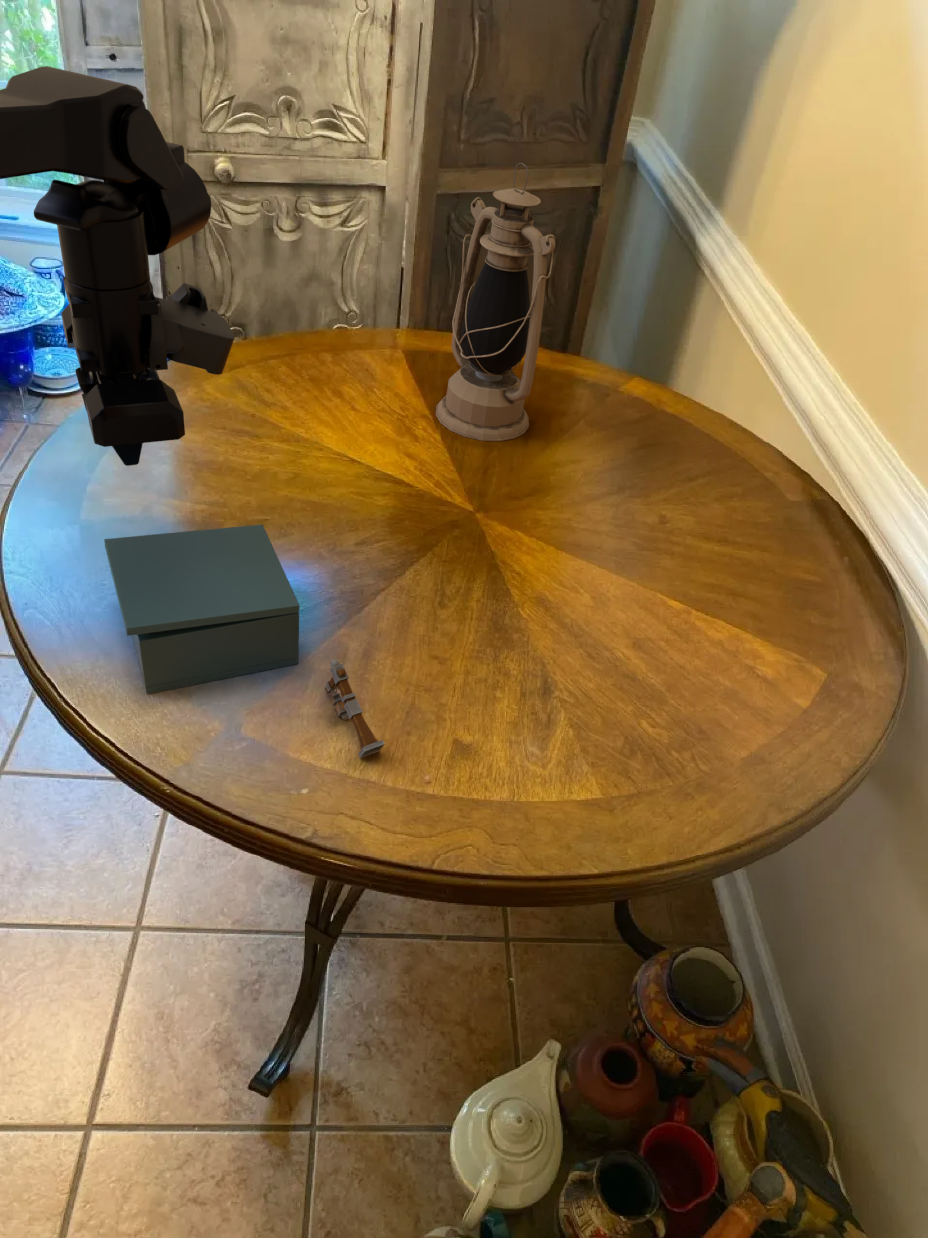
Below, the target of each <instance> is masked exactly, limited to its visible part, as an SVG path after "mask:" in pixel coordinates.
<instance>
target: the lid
mask: <svg viewBox="0 0 928 1238" xmlns="http://www.w3.org/2000/svg"><path fill="white" fill-rule="evenodd" d="M269 537H270V536H269V535H268V533H267V531H266V528H265V527H264V525H263V524H254V525H243V526H232V527H231V526H230V527H220V528H210V529H199V530H198V529H197V530H189V531H177V532H166V533H156V534H144V535H133V536H124V537H123V536H121V537H113V538H111V537H110V538H104V539H103V542H104V543H103V544H104V549H105V554H106V557H107V561H108V565H109V568H110V573H111V577H112V582H113V586H114V589H115V593H116V597H117V602H118V605H119V609H120V612H121V617H122V621H123V626H124V629H125V634H126V636H127V637H128V636H129V637H130V636H131V635H138V634H145V633H152V632H160V631H167V630H174V629H182V628H189V627H196V626H204V625H211V624H219V623H226V622H233V621H241V620H248V619H255V618H263V617H270V616H278V615H285V614H292V613H299V614H300V607H301V606H300V603H299V601H298V599H297V597H296V595H295V592H294V590H293V587H292V586H291V584H290V581H289V579H288V577H287V575H286V572H285V570H284V568H283V566H282V563H281V562H280V559H279V557H278V555H277V553H276V551H275V548H274V546H273V544H272V542H271V539H270V538H269Z"/></svg>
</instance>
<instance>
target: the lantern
mask: <svg viewBox="0 0 928 1238" xmlns="http://www.w3.org/2000/svg"><path fill="white" fill-rule="evenodd" d="M519 165H522V166H524V167H525V168H526V173H527V174H526V180H525V183H524V186H523V187H524V188H523V189H520V188H515V187H516V186H515V184H516V173H517V168H518V166H519ZM529 175H530V173H529V169H528V166H527V165H526V164H525V163H523V162H519V163H516V165H515V167H514V173H513V188H507V189H498V190H495V191H494V192H492V196H493V197H494V198H495V199H496V200H497V201H499V202H501V204H500V208H497V207H495V206H486V204H485V203H484V201H483V200H482V198H481V197H480V196H477V197H475V198H474V199H473V200H472V202H471V203H470V212H471V215H472V216H473V218H474V221H475V223H474V228H473V231H472V233H471V234H469V233H467V234H465V236H464V238H463V241H462V263H461V276H460V277H461V279H460V285H459V291H458V295H457V300H456V304H455V309H454V314H453V317H452V321H451V323H452V326H451V327H452V335H451V336H452V337H451V351H452V354H453V356H454V359H455V361H456V362H457V364H458V366H460V368H459V369H458V370H457V371H456V372H455V373H453V374H452V375H451V377H449V378H448V381H447V390H446V395H445V396H444V397H443V398H442V399H441V400H440V401H439V402H438V403H437V404H436V406H435V416H436V418H437V419H438V421H439V423H440V424H441V425H442V426H443V427H445V428H446V429H447V430H449V431H450V432H452V433H455V434H457V435H460V436H461V437H464V438H468V439H472V440H477V441H482V442H502V441H509V440H514V439H516V438H519V437H520V436H521V435H524V434H525V433H526V431H527V430H528V429H529V427H530V421H529V420H530V418H529V415H528V413H527V411H526V410H525V408H524V407H525V402H526V399H527V397H529V396H530V395H531V392H532V391H531V390H532V386H533V383H534V377H535V372H536V365H537V359H538V353H539V346H540V339H541V332H542V331H541V330H542V322H543V313H544V305H545V293H546V280H547V279H549V278H550V276H551V274H552V268H553V262H554V251H555V248H556V240H555V235H553V234H547V235H544V236H543V233H542V232H541V231H540V230H539V229H538V228H537V227H534V221H535V217H534V216H533V215H532V214H530V213H529V212H530V207H531V208H532V207H535V206H538V205H539V204H541V199H540V198H539V197H538V196H536V195H534V194H532V193H530V192H529V191H526V187H527V184H528V179H529ZM509 205H510V206H509ZM490 223H491V227H490V233H487V234H486V231H487V228H488V226H489V224H490ZM467 237H469V238H470V240H469V241H470V242H469V245H468V250H467V254H466V258H465V247H466V246H465V245H466V240H467ZM482 247H483V248H485V249H486V250H487V255H486V256H485V258H484V264H483V266H482V268H481V270H480V273H479V275H478V277H477V279H476V281H475V282H474V280H475V275H476V270H477V266H478V262H479V258H480V253H481V250H482ZM550 254H551V258H550V259H551V260H550V265H549V272H548V274H547V257H548V255H550ZM530 256H533V274H532V288H531V289H532V290H531V300H530V284H529V276H528V275H529V274H528V268H529V263H528V258H529V257H530ZM473 287H474V288H473ZM523 359H524V361H523V368H522V374H521V378H519V377H518V375H517V374H516V373H515V372H514V370H515V369H516V368H517V367H518V366H520V364H521V363H522V360H523Z"/></svg>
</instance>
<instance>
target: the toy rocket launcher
mask: <svg viewBox="0 0 928 1238" xmlns="http://www.w3.org/2000/svg"><path fill="white" fill-rule="evenodd" d="M330 667H331V668H330V669H329V672H330V673H331V678H330V680H329V681H327V682H326V683H325V686H324V690H325V692H326V694H329V693H333V694H334V695H333V697H332V699H334V701H333V703H332V704H331V706H332V707H335V710H336V713H337V717H341V719H342V720H345V721H346V720H348V719H349V720H351V722H352V725H353V727H354V729H355V733H356V736H357V738H358V742H359V745H360V751H359V752H358V753H357V754H358V759H361V758H365V757H367V756H369V755H373V754H375V753H377V752H380V751H381V750H382V749H383V747H384V746H385V745H386V743H385V742H384V739H380V740H379V739H377V737H376V736H375V735H374V733H373V731H372V730H371V728H370V727H369V724H368V723H367V721H366V720H365V717H364V715H363V713H364V710H363V709H362V707H361V705H360V703H359V699H358V697H357V695H356V692H353V689H352V687H351V684H350V682H349V679H350V677H349V675H348V674H347V671H346V668H345V665H344V663H343V662H342V663H340V662H339V660H337V659H333V660H331V661H330ZM338 690H339V692H338ZM356 697H357V698H356Z"/></svg>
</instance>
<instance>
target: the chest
mask: <svg viewBox="0 0 928 1238" xmlns="http://www.w3.org/2000/svg"><path fill="white" fill-rule="evenodd" d="M130 636H131V639H132V643H133V648H134V651H135V655H136V660H137V663H138V667H139V671H140V675H141V678H142V683H143V686H144V690H145V694H146V695H149V694H154V693H160V692H165V691H170V690H174V689H179V688H184V687H190V686H195V685H199V684H204V683H210V682H214V681H219V680H226V679H229V678H235V677H240V676H244V675H249V674H254V673H259V672H264V671H268V670H269V671H270V670H276V669H280V668H284V667H285V668H286V667H289V666H294V665H295V666H296V665H299V648H300V646H299V645H300V612H299V613H292V614H285V615H278V616H270V617H263V618H255V619H248V620H241V621H233V622H226V623H219V624H211V625H204V626H196V627H189V628H182V629H174V630H167V631H160V632H152V633H145V634H138V635H130Z"/></svg>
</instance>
